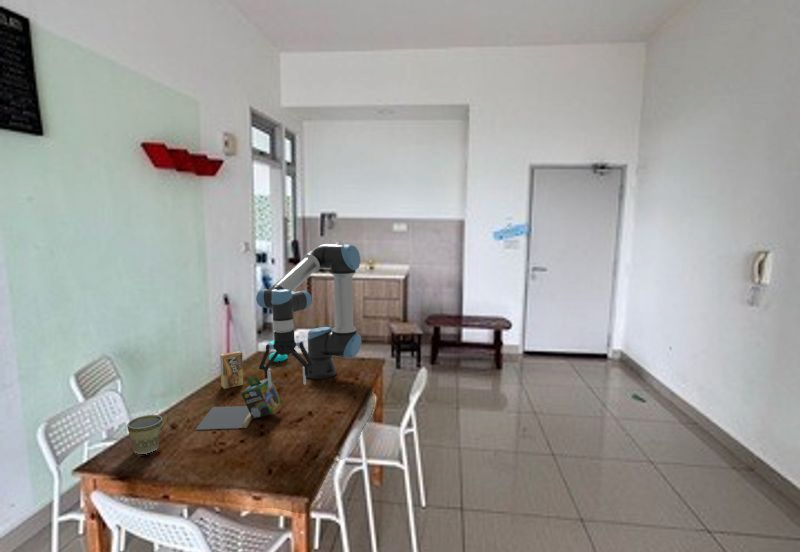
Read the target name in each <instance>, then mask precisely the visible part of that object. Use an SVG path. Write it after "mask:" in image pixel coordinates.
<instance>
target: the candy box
mask: <svg viewBox="0 0 800 552" xmlns="http://www.w3.org/2000/svg"><path fill="white" fill-rule="evenodd" d="M219 355H220V357H219V358H220V359H219V360H220V362H219V363H220V379H221V381H220V383H221V385H220V387H222V388H223V390H225V389H230V388H234V387H238V386H243V385H244V369H243V368H244V367H243V365H244V363H243V353H242V352H241V351H240V350H239V351H232V352H226V353H221V354H219Z"/></svg>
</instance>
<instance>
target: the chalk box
mask: <svg viewBox="0 0 800 552" xmlns="http://www.w3.org/2000/svg"><path fill="white" fill-rule="evenodd" d="M252 381H255V382H252ZM246 382H247V383H248V384H249V386H247V387H246V388H245V389H244V390H243V391H241V392H240V394H241V396H242V399H243V402H244V403H245V406H247V408H248V410H249V412H250V414H251V417H252V419H251V420H254V419H257V418H261V417H265V416H269V415H272V414H273V413H274V412H275V411H276V409H278V408H279V407H280V406H281V405H282V404H283V401H282V398H281V396H280V394H279V392H278V390H277V387H276V386H275V383H274V381H273V379H272V377H271V382H272V385H271V387H269V388H268V378H267V379H265V378H264V379H262V380H260V379H259V378H258V377H257V376H252V377H249V378H247V379H246Z"/></svg>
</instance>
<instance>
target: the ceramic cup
mask: <svg viewBox="0 0 800 552" xmlns="http://www.w3.org/2000/svg"><path fill="white" fill-rule="evenodd" d="M165 418H167V419H166V421H165V423H164V424H163V425H162V423H163V420H164V419H165ZM169 421H170V418H169V415H162V416H161V415H159V414H148V415H142V416H138V417H135V418H133V419H131V420H129V421H128V422H127V424H126V427H127V431H128V434H129V435H128V436H129V437H130V441H131V444H132V448H133V451H134V453H135V454H136V453H137V454H136V455H138V454H146V455H148V454H147V453H150V452H152V453H154V452H153V451H155V450H156V451H157V450H158V448H159V443H160V435H161V432H162V430H163V429H164V428H165V427H166V425H167V424H168V423H169ZM156 451H155V452H156ZM150 454H151V453H150Z"/></svg>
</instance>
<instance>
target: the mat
mask: <svg viewBox="0 0 800 552" xmlns="http://www.w3.org/2000/svg"><path fill="white" fill-rule="evenodd" d="M252 420H253V419H252V417H251V414H250V412H249V410H248V408H247V406H246V405H240V406H239V405H238V406H237V405H236V406H235V405H234V406H233V405H232V406H230V405H229V406H212V408H211V409H210V410H209V412H207V414H206V415H205V416H204V418H203V419H202V420H201V421H200V423H199V424H198V425H197V427H196V428H195V430H196V431H211V430H210V429H223V430H239V428H248V427H249V425H250V423H251V421H252Z"/></svg>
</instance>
